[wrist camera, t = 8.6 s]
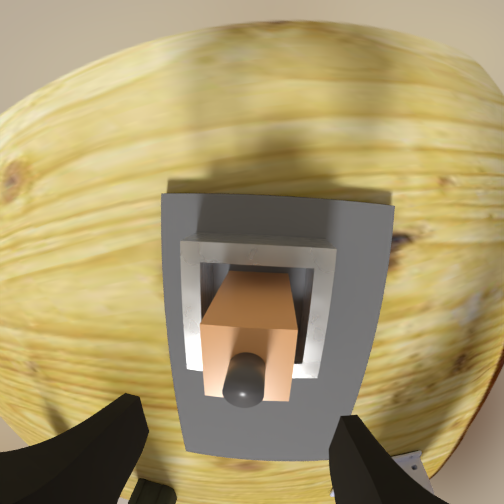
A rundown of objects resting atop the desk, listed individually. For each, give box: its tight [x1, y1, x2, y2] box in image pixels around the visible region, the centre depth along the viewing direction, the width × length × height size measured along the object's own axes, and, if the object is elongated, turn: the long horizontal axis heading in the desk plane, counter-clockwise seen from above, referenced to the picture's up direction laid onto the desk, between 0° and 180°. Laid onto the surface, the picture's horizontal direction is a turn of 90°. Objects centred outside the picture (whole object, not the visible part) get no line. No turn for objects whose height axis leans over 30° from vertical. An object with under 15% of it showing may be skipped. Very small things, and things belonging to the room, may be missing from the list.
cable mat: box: [161, 193, 395, 461], centre depth 18 cm, size 14×23×1 cm, turn 178°
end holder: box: [180, 232, 337, 378], centre depth 15 cm, size 8×8×3 cm
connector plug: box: [200, 271, 298, 408], centre depth 13 cm, size 4×4×9 cm
